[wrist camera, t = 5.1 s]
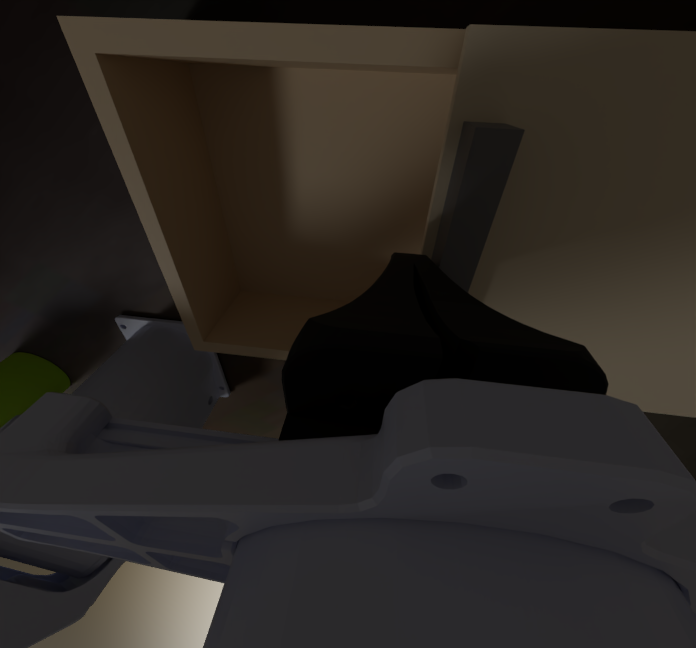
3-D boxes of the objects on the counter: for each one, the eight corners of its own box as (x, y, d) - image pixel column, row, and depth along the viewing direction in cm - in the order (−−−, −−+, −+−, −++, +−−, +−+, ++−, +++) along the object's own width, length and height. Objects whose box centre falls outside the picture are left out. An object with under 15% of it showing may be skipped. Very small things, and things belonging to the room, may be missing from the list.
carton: (449, 316, 21) (465, 380, 17) (235, 295, 22) (194, 350, 18) (533, 53, 12) (617, 33, 8) (172, 40, 13) (56, 15, 9)
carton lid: (697, 410, 16) (732, 447, 14) (394, 376, 17) (394, 407, 15) (1181, 49, 7) (1432, 38, 5) (466, 27, 8) (485, 11, 6)
